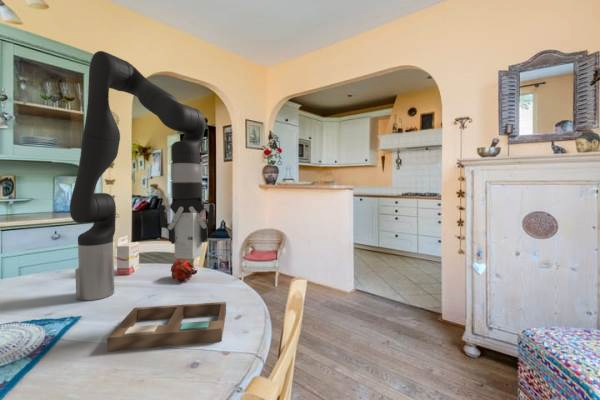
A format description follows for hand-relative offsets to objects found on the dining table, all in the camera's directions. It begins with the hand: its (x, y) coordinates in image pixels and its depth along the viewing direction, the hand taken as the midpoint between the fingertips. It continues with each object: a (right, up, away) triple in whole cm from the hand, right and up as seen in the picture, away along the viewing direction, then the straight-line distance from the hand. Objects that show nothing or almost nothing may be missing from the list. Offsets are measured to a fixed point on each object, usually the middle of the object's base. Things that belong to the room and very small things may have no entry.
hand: (188, 242), depth 76 cm
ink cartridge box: (-41, -19, +40) cm, 60 cm away
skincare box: (0, -4, 0) cm, 4 cm away
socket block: (-2, -21, -5) cm, 22 cm away
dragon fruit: (-15, -19, +32) cm, 40 cm away
